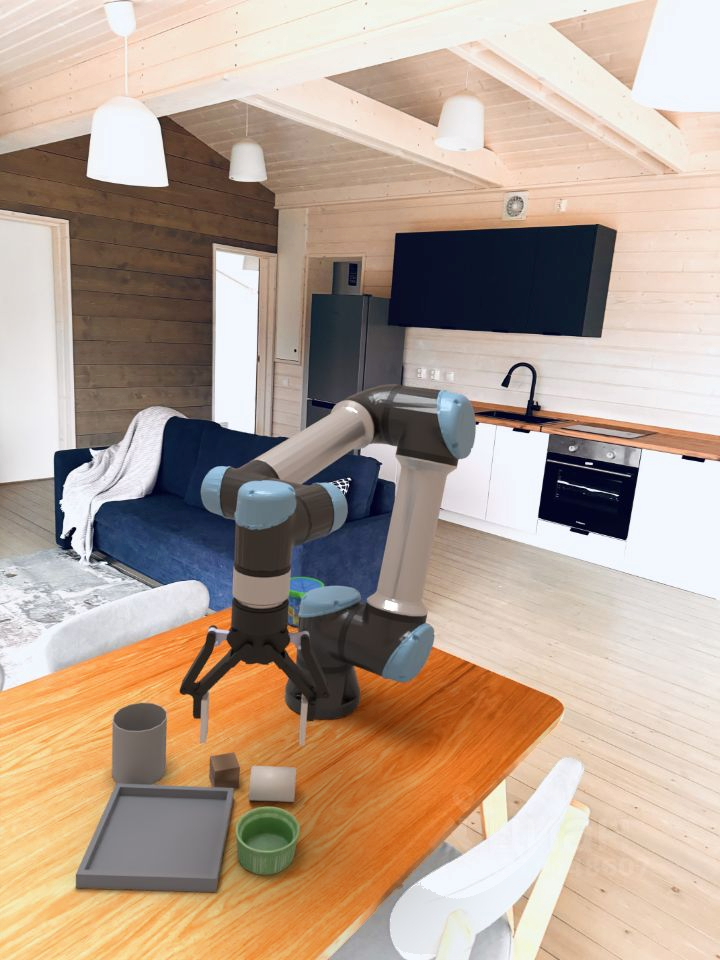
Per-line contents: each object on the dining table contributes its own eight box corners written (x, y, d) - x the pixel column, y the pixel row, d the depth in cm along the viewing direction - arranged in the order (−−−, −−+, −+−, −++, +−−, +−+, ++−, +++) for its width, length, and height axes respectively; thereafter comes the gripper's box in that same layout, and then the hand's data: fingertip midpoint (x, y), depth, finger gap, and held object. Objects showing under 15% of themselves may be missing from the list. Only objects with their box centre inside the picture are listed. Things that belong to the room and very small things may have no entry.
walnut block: (233, 773, 114) (234, 752, 114) (238, 788, 111) (239, 766, 110) (209, 777, 113) (209, 756, 112) (213, 793, 109) (214, 771, 108)
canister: (293, 804, 110) (295, 771, 113) (294, 798, 106) (296, 764, 109) (249, 802, 109) (252, 769, 112) (248, 796, 105) (251, 762, 108)
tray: (233, 799, 108) (233, 788, 108) (216, 892, 91) (216, 878, 90) (116, 795, 107) (116, 783, 106) (75, 888, 89) (75, 874, 89)
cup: (149, 792, 108) (150, 736, 106) (101, 782, 109) (102, 725, 107) (174, 761, 116) (176, 707, 114) (129, 751, 118) (130, 698, 115)
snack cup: (322, 636, 167) (325, 597, 165) (278, 635, 166) (281, 595, 163) (320, 610, 182) (323, 574, 180) (280, 608, 181) (283, 572, 179)
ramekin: (243, 827, 103) (244, 802, 102) (302, 836, 102) (305, 811, 101) (225, 873, 94) (227, 846, 93) (290, 884, 93) (293, 856, 92)
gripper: (351, 590, 97) (340, 725, 101) (170, 582, 94) (167, 721, 99) (356, 613, 89) (343, 757, 94) (159, 605, 87) (156, 753, 92)
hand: (253, 738), depth 97 cm, fingers open, 13 cm apart
